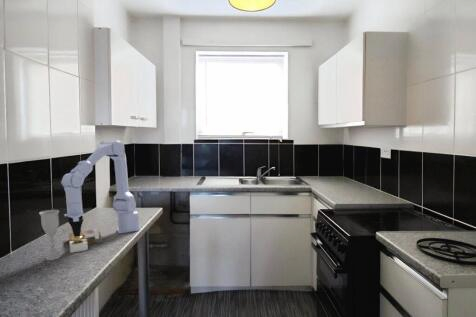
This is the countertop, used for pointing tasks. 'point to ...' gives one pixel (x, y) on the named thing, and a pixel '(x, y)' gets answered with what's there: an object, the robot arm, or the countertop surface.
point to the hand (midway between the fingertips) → (77, 235)
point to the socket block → (89, 239)
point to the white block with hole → (78, 246)
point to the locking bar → (93, 234)
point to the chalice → (50, 229)
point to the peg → (77, 239)
